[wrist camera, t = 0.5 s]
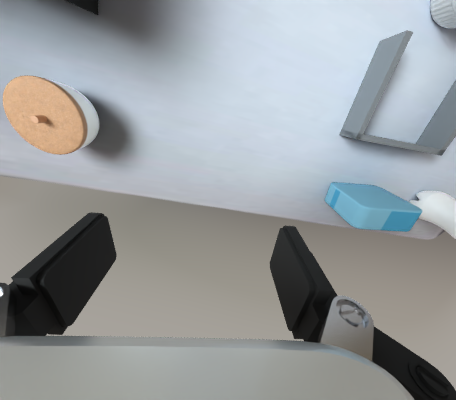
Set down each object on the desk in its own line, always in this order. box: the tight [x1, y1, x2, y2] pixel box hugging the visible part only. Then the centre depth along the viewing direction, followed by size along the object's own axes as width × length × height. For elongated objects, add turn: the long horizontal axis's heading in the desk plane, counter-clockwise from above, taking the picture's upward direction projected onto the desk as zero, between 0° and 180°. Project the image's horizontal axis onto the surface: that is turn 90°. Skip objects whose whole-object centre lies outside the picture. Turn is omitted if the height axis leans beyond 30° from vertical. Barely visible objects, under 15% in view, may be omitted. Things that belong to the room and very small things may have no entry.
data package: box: [325, 182, 422, 232], centre depth 38 cm, size 12×4×12 cm, turn 85°
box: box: [340, 31, 456, 156], centre depth 33 cm, size 15×18×5 cm
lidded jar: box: [3, 76, 99, 155], centre depth 30 cm, size 11×11×9 cm
